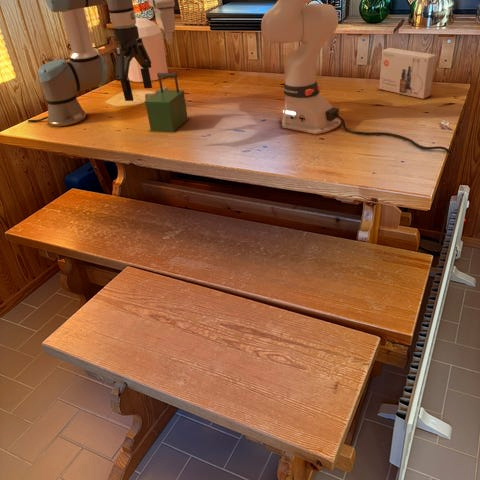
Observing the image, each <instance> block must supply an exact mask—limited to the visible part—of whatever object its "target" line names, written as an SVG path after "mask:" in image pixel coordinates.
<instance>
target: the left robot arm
mask: <svg viewBox="0 0 480 480" xmlns="http://www.w3.org/2000/svg"><path fill="white" fill-rule="evenodd" d="M44 1H45V3H46V6H47V7H48V9H49V10H50V12H52V13H61V15H62V19H63V23H64V27H65V30H66V34H67V38H68V43H69V46H70V50H71V52H70V53H69V55H68V57H69V61H68V62H67V61H66V60H65V59H63V58H62V59H61V58H60V59H55V60H51V61H47V62H46V63H44V64H42V65H40V66H39V68H38V70H37V74H38V79H39V83H40V85H41V88H42V91H43V94H44V97H45V99H46V103H47V116H45V117H42V118H40V119H28V120H27V122H28V123H34V122H35V123H38V122H41V121H45V120H47V122H48V124H49V125H50V126H52V127H58V128H59V127H61V128H62V127H68V126H73V125H77V124H79V123H81V122H83V121H84V120H86V118H87V115H86V112H85V109H83V108H82V105H81V104H80V102H79V101H78V99H77V96H76V93H77V92H81V91H85V90H90V89H94V88H98V87H100V86H104V85H105V84H106V83H107V80H108V78H109V77H108V74H109V72H108V66H107V63H106V60H105V58H104V57H103V56H102V55H100V54H99V51H97V50H96V49H95V48H94V45H93V40H92V37H91V33H90V27H89V24H88V19H87V15H86V10H85V9H86V8H90V7H91V8H92V7H97V6H103V5H107V8H108V13H109V17H110V22H111V26H112V27H113V35H114V39H115V41H116V42H118V43H119V46H115V47H114V53H115V54H114V55H115V72H114V73H115V75H114V76H115V77H114V78H115V81H117V82H120V84H121V85H120V86H121V89H122V93H123V97H124V101H125V102H133V101H134V95H133V91H132V87H131V81H130V80H129V78H128V72H129V66H130V61H131V60H132V58H133V57H134V58H135V59H136V60H137V62H138V63H139V64H140V66H141V67H142V68H143V69H141V74H142V79H143V82H142V83H143V88H144V89H153V84H152V81H151V79H150V73H149V68H151V60H150V58H149V56H148V54H147V52H146V50H145V47H144V45H143V42H142V39H141V38H139V33H138V28H137V26H136V25H135V24H136V18H137V17H136V13H135V9H134V3H133V0H44ZM146 60H147V61H146Z"/></svg>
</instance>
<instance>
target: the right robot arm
mask: <svg viewBox="0 0 480 480" xmlns="http://www.w3.org/2000/svg"><path fill="white" fill-rule="evenodd" d="M147 1H148V6H149V7H152V9H153V11H154V17H155V21H156V25H157V26H158V27H159V29H160V30H161V33H162V39H163V40H166V43H167V45H172V44H173V32H175V31H176V21H175V19H176V18H175V9H174V7H175V6H176V5H175V4H176V3H175V0H147ZM311 1H313V0H277V1H276V3H275V4H274V5H273V6H272V7H271V8H270V9H268V10H267V11H266V12H265V13H264V15H263V16H262V18H261V22H260V23H261V24H260V30H261V33H262V36H263V37H264V39H265V40H266V41H267V42H268V43H272V44H288V43H297V42H300V44H299V46H298V48H297V49H296V50H294V51H293V52H291V53H290V54H288V56H287V57H286V58H285V60H284V62H283V67H284V68H283V70H284V82H283V89H282V90H283V94H284V103H283V110H282V116H281V120H280V121H281V128H282V129H288V130H292V131H298V132H303V133H309V134H313V135H314V134H315V135H319V134H324V133H328V132H331V131H332V130H335V129H337V128H338V127H339V126H340V125H341V124H342V127H343V130H344V131H345V132H348V133H352V134H354V135H356V134H357V135H358V134H359V135H383V136H384V135H385V136H392V137H396V138H399V139H402V140H405V141H408V142H410V143H411V144H413V145H414V146H416V147H417V148H420V149H423V150H443V151H446V152H447V153H448V154H452V151H451V150H450V149H448V147H444V146H441V145H440V146H439V145H438V146H424V145H420V144H418V143H417V142H416V141H414V140H412V139H411V138H409V137H406V136H404V135H400V134H397V133H392V132H384V131H383V132H381V131H376V132H375V131H374V132H371V131H370V132H369V131H353V130H349V129H348V128H347V127H346V122H345V120H344V118H342V116H340V115H339V111H340V110H339V109H340V108H338V107H334V106H333V105H332V104H331V103H330V102H329V101H328V100H327V99H326V98H325V97H324V96H323V95H322V94H321V93H320V90H321V89H322V86H323V85H322V84H320V85H319V84H318V81H317V64H318V57H319V54H320V52H321V49H322V48H323V46H324V44H325V43H326V42H327V41H328V39H329V38H330V37H332V36H333V35H334V34H335V32H336V30H337V28H338V25H339V14H338V11H337V9H336V8H335V6H334V5H333V4H328V3H319V2H317V3H310V2H311ZM450 205H451V200H448V201H447V204H446V208H445V212H444V218H443V222H442V226H441V230H440V235H439V240H438V244H437V250H436V252H437V253H439V252H440V250H441V246H442V245H441V244H442V240H443V235H444V231H445V227H446V222H447V218H448V213H449V209H450Z"/></svg>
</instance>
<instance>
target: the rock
mask: <svg viewBox="0 0 480 480" xmlns="http://www.w3.org/2000/svg"><path fill="white" fill-rule="evenodd" d="M162 87H163V90H169V89H168V87H167V86H163V85H162ZM160 91H161V89H160V88H159V89H157V90H156V91H155V92H153V93H152V92H151V93H150V92H149V93H147V92H146V93H145V94H144V99H145V101H147V100H148V99H150V98H151V97H152V96H154V95H155V94H157V93H158V92H160Z"/></svg>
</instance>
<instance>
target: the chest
mask: <svg viewBox="0 0 480 480" xmlns="http://www.w3.org/2000/svg"><path fill="white" fill-rule="evenodd" d="M145 109H146V113H147V118H148V124H149V129H150V131H151V132H169V133H174V132H175V131H176V130H177V129H179V128H180V127H181V126H182V125H183V124H184V123H185V122H187V121H188V119H189V117H188V111H187V104H186V98H185V93H184V94H182V95H181V96H180V97H178V98H177V99H176V100H175V101H173V102H172V103H171V104H169V105H158V104H145Z"/></svg>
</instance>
